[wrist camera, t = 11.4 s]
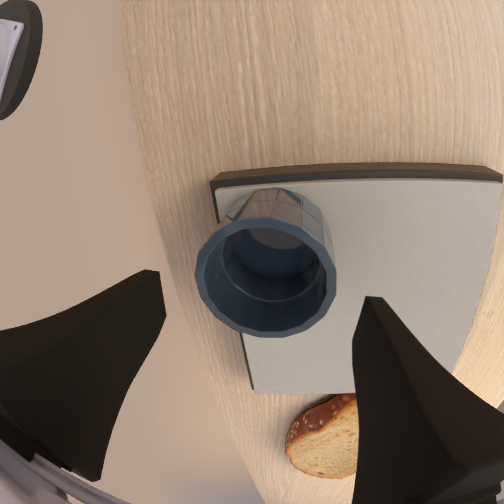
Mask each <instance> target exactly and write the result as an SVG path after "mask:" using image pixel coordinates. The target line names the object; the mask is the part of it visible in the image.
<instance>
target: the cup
mask: <svg viewBox="0 0 504 504" xmlns="http://www.w3.org/2000/svg"><path fill="white" fill-rule="evenodd" d="M195 279H196V283H197V286H198V290H199V294H200V297H201V299H202V300H203V302H204V303H205V304H206V306H207V307H208V308H209V310H210V311H211V312H212V313H213V315H214V316H215V317H216V318H218V319H219V320H220V321H222V322H223V323H225V324H226V325H228V326H229V327H231V328H232V329H234V330H236V331H238V332H242V333H245V334H248V335H251V336H255V337H258V338H259V337H260V338H285V337H288V336H291V335H295V334H298V333H301V332H304V331H306V330H308V329H309V328H311V327H312V326H313V325H315V324H316V323H317V322H318V321H320V320H321V319H322V318H323V317H325V315H326V314H327V312H328V310H329V308H330V306H331V304H332V302H333V300H334V298H335V296H336V290H337V270H336V263H335V257H334V250H333V244H332V238H331V232H330V228H329V226H328V224H327V222H326V220H325V218H324V216H323V214H322V212H321V211H320V209H319V208H318V207H317V206H316V205H314V204H313V203H312V202H311V201H310V200H308V199H307V198H306V197H305V196H302V195H301V194H299V193H295V192H292V191H289V190H286V189H283V188H269V189H258V190H255V191H253V192H251V193H249V194H247V195H245V196H243V197H241V198H239V199H238V200H236V202H235V203H234V204H233V205H232V207H231V208H230V209H229V210H228V212H227V213H226V214H225V216H224V217H223V218H222V220H221V221H220V223H219V224H218V225H217V227H216V228H215V230H214V231H213V232H212V234H211V235H210V237H209V238H208V239H207V241H206V242H205V244H204V245H203V246H202V248H201V249H200V251H199V253H198V258H197V264H196V269H195Z"/></svg>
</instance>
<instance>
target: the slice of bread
mask: <svg viewBox="0 0 504 504" xmlns="http://www.w3.org/2000/svg"><path fill="white" fill-rule="evenodd" d="M358 439H359V422H358V410H357V401H356V393H339V394H338V395H337V396H336V397H335V398H333V399H331V400H330V401H328V402H326V403H324V404H321V405H318V406H316V407H313V408H311V409H310V410H308V411H306V412H304V413H303V414H302V415H300V416H299V417H298V418H297V419H296V421H295V422H294V424H292V426H291V429H290V430H289V432H288V434H287V436H286V442H285V453H286V455H287V456H288V457H290V461H291V464H292V465H293V466H294V467H295V468H297V469H299V470H301V471H302V472H304V473H306V474H309V475H312V476H316V477H321V478H327V479H343V478H345V477H347V476H349V475H352V474H354V473H356V469H357V457H358Z"/></svg>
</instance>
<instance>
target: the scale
mask: <svg viewBox="0 0 504 504" xmlns="http://www.w3.org/2000/svg"><path fill="white" fill-rule="evenodd" d="M502 182H503V175H502V174H500V173H498V172H496V171H494V170H492V169H490V168H488V167H485V166H473V165H458V164H438V163H338V164H316V165H299V166H285V167H272V168H261V169H250V170H240V171H231V172H222V173H220V174H219V175H217V176H216V177H215V178H214V179H212V180H211V181H210V186H211V192H212V197H213V203H214V208H215V214H216V219H217V224H219V223H220V221H221V220H222V218H223V217H224V216H225V214H226V213H227V212H228V210H229V209H230V208H231V207H232V205H233V204H234V203H235V202H236V200H238V199H239V198H241V197H243V196H245V195H247V194H249V193H251V192H253V191H255V190H258V189H269V188H283V189H286V190H289V191H292V192H295V193H299V194H301V195H302V196H305V197H306V198H307V199H308V200H310V201H311V202H312V203H313V204H314V205H316V206H317V207H318V208H319V209H320V211H321V212H322V214H323V216H324V218H325V220H326V222H327V224H328V226H329V228H330V232H331V238H332V244H333V250H334V257H335V263H336V270H337V290H336V296H335V298H334V300H333V302H332V304H331V306H330V308H329V310H328V312H327V314H326V315H325V317H323V318H322V319H321V320H320V321H318V322H317V323H316V324H315V325H313V326H312V327H311V328H309V329H308V330H306V331H304V332H301V333H298V334H295V335H291V336H288V337H285V338H260V337H259V338H258V337H255V336H251V335H248V334H245V333H242V332H239V333H240V338H241V342H242V347H243V351H244V356H245V360H246V365H247V369H248V374H249V378H250V382H251V387H252V390H255V393H267V394H339V393H356V392H355V384H354V376H353V368H352V338H353V335H354V332H355V329H356V326H357V323H358V319H359V316H360V313H361V309H362V306H363V303H364V299H365V296H375V297H383V299H384V300H385V301H386V302H387V303H388V304H389V305H390V307H391V308H392V309H393V310H394V312H395V313H396V314H397V315H398V316H399V318H400V319H401V320H402V321H403V323H404V324H405V325H406V326H407V327H408V329H409V330H410V331H411V332H412V333H413V335H414V336H415V337H416V338H417V339H418V340H419V342H420V343H421V344H422V345H423V346H424V347H425V348H426V349H427V350H428V352H429V353H430V354H431V355H432V356H433V357H434V358H435V359H436V360H437V361H438V362H439V363H440V364H441V365H442V366H443V367H444V368H445V369H446V370H447V371H448V372H449V373H450V374H451V373H452V371H453V369H454V367H455V365H456V362H457V360H458V358H459V355H460V353H461V351H462V348H463V346H464V343H465V341H466V338H467V336H468V333H469V331H470V328H471V325H472V323H473V320H474V317H475V314H476V311H477V308H478V305H479V302H480V299H481V295H482V292H483V289H484V285H485V282H486V278H487V274H488V270H489V266H490V262H491V258H492V253H493V249H494V244H495V239H496V234H497V228H498V222H499V216H500V209H501V201H502V193H503V184H502Z"/></svg>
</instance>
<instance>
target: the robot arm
mask: <svg viewBox="0 0 504 504" xmlns="http://www.w3.org/2000/svg"><path fill="white" fill-rule="evenodd" d="M23 29H24V24H23V23H20V22H15V21H10V20H5V19H0V102H1V97H2V93H3V89H4V86H5V82H6V78H7V75H8V71H9V68H10V65H11V62H12V59H13V56H14V53H15V50H16V47H17V45H18V42H19V39H20V37H21V34H22V32H23ZM166 316H167V315H166V310H165V304H164V298H163V292H162V286H161V281H160V273H159V272H158V271H152V270H143V271H140V272H138V273H136V274H134V275H132V276H130V277H128V278H126V279H125V280H123V281H121V282H119V283H117V284H115V285H114V286H112V287H110V288H108V289H106V290H104V291H103V292H101V293H99V294H97V295H95V296H93V297H91V298H89V299H87V300H85V301H83V302H81V303H80V304H78V305H76V306H73V307H71V308H69V309H67V310H65V311H63V312H60V313H57V314H55V315H52V316H50V317H47V318H44V319H41V320H38V321H35V322H32V323H29V324H26V325H22V326H19V327H15V328H10V329H6V330H1V331H0V504H71V503H70V502H69V501H68V498H67V495H66V493H67V494H69V495H71V496H72V497H74V498H76V499H77V500H79V501H81V502H83V503H85V504H130V503H128V502H125V501H123V500H121V499H118V498H116V497H114V496H112V495H109V494H107V493H105V492H103V491H101V490H99V489H97V488H95V487H93V486H91V485H89V484H87V483H85V482H83V481H81V480H80V479H78V478H76V477H74V476H72V475H71V474H69V473H67V472H65V471H64V470H62V469H61V468H64V469H66V470H68V471H69V472H74V473H76V474H77V475H79V476H81V477H83V478H85V479H87V480H89V481H91V482H95V481H98V480H100V479H101V474H102V469H103V464H104V459H105V455H106V451H107V447H108V444H109V440H110V437H111V433H112V430H113V427H114V424H115V422H116V419H117V416H118V413H119V410H120V408H121V405H122V403H123V401H124V398H125V396H126V393H127V391H128V389H129V387H130V385H131V383H132V381H133V379H134V378H135V376H136V374H137V373H138V371H139V369H140V367H141V366H142V364H143V362H144V361H145V359H146V357H147V355H148V354H149V352H150V350H151V348H152V347H153V345H154V343H155V342H156V340H157V338H158V336H159V333H160V331H161V329H162V326H163V324H164V320H165V318H166ZM352 368H353V376H354V384H355V392H356V401H357V410H358V422H359V439H358V457H357V469H356V478H355V486H354V493H353V499H352V504H504V499H502V500H500V501H498V502H497V501H496V495H497V494H499V493H500V492H501V485H500V482H501V481H503V480H504V414H503V413H502V412H500V411H498V410H497V409H496V408H494V407H493V406H491V405H490V404H488V403H486V402H485V401H484V400H482V399H481V398H480V397H478V396H477V395H475V394H474V393H473V392H472V391H470V390H469V389H468V388H467V387H465V386H464V385H463V384H462V383H461V382H459V381H458V380H457V379H456V378H455V377H454V376H453V375H452V374H450V373H449V372H448V371H447V370H446V369H445V368H444V367H443V366H442V365H441V364H440V363H439V362H438V361H437V360H436V359H435V358H434V357H433V356H432V355H431V354H430V353H429V352H428V350H427V349H426V348H425V347H424V346H423V345H422V344H421V343H420V342H419V340H418V339H417V338H416V337H415V336H414V335H413V333H412V332H411V331H410V330H409V329H408V327H407V326H406V325H405V324H404V323H403V321H402V320H401V319H400V318H399V316H398V315H397V314H396V313H395V312H394V310H393V309H392V308H391V307H390V305H389V304H388V303H387V302H386V301H385V300H384V299H383V297H375V296H365V299H364V303H363V306H362V309H361V313H360V316H359V319H358V323H357V326H356V329H355V332H354V335H353V338H352Z"/></svg>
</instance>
